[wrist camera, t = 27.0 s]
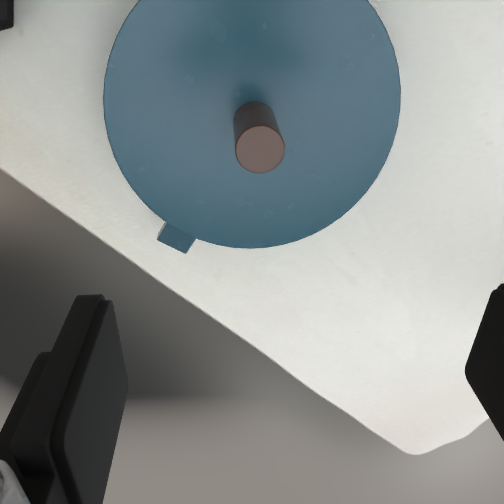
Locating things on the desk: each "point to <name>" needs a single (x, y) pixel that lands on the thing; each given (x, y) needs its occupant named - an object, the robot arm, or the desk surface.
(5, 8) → the digital camera
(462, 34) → the desk surface
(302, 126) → the tin lid
